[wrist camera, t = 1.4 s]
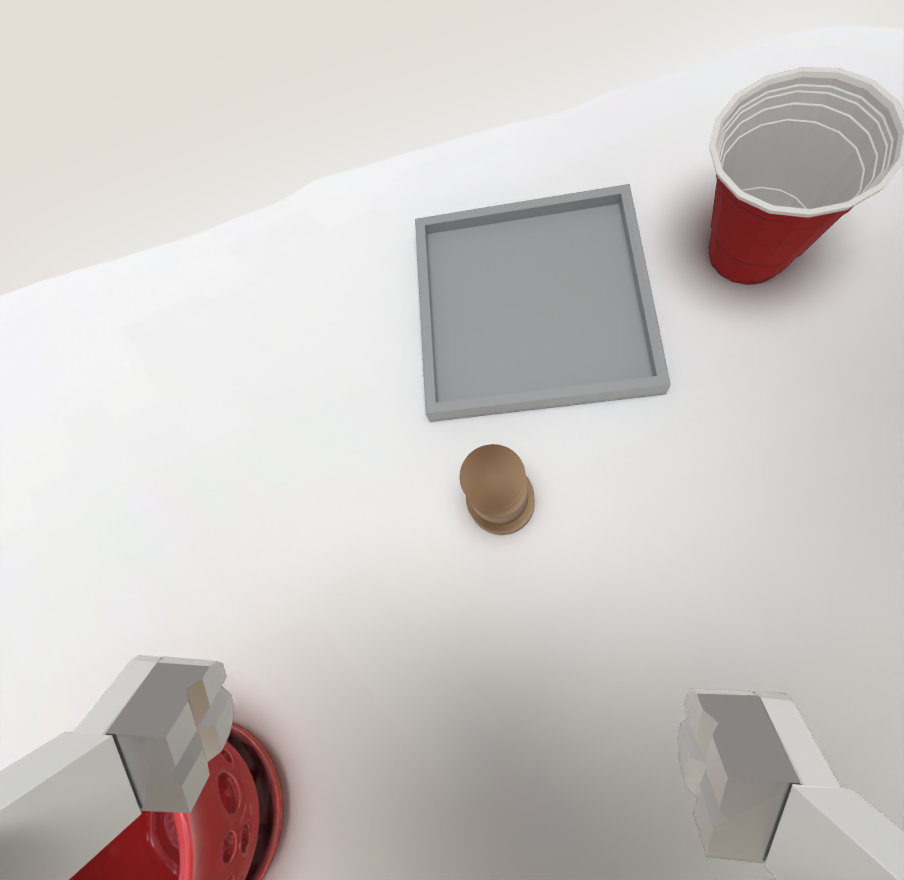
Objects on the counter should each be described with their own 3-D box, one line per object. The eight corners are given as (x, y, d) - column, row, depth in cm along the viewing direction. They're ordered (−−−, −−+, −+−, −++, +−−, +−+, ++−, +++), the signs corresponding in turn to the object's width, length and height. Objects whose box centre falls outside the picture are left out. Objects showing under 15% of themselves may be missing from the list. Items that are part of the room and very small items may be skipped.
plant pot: (292, 689, 41) (195, 713, 29) (303, 912, 36) (193, 1041, 25) (123, 714, 42) (-32, 746, 31) (114, 932, 38) (-71, 1063, 26)
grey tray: (626, 199, 49) (629, 184, 47) (665, 394, 43) (670, 384, 41) (419, 232, 51) (415, 218, 49) (430, 421, 45) (425, 413, 44)
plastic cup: (651, 223, 48) (684, 98, 36) (779, 181, 47) (853, 40, 36) (705, 333, 44) (760, 231, 33) (845, 288, 43) (950, 170, 32)
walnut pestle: (530, 467, 43) (527, 434, 35) (538, 531, 41) (536, 510, 34) (467, 474, 43) (450, 442, 36) (472, 537, 42) (455, 518, 34)
